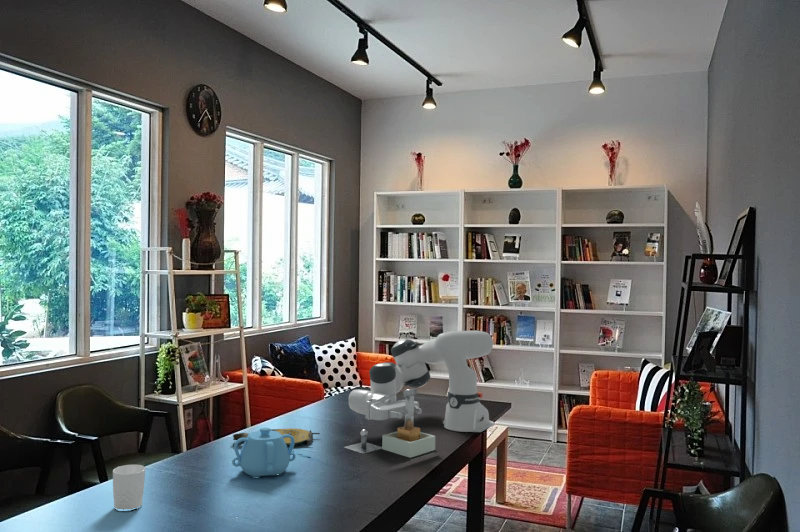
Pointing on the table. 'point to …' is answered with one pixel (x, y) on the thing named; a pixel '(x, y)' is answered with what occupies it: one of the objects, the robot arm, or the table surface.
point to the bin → (409, 445)
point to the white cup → (128, 486)
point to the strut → (409, 419)
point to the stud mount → (363, 444)
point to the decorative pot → (264, 453)
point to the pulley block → (299, 436)
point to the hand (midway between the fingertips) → (411, 413)
